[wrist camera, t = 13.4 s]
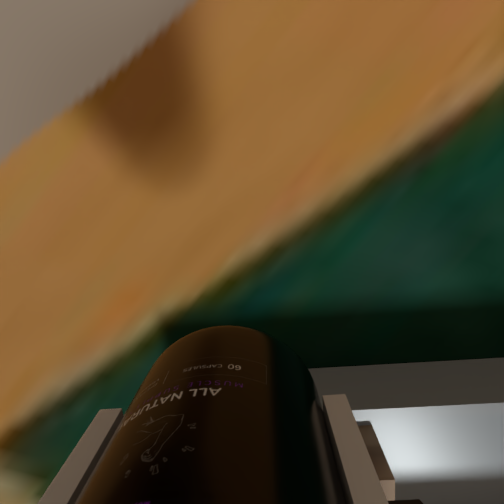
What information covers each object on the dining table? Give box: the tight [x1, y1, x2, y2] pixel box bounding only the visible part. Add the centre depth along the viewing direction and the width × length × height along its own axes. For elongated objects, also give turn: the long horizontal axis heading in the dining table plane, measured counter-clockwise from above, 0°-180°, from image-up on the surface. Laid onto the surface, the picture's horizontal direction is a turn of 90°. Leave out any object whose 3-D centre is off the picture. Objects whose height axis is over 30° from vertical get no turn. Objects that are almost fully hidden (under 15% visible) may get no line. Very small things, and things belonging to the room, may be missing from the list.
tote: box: [308, 358, 504, 504], centre depth 26 cm, size 28×15×5 cm, turn 95°
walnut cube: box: [358, 425, 395, 501], centre depth 26 cm, size 5×5×5 cm
